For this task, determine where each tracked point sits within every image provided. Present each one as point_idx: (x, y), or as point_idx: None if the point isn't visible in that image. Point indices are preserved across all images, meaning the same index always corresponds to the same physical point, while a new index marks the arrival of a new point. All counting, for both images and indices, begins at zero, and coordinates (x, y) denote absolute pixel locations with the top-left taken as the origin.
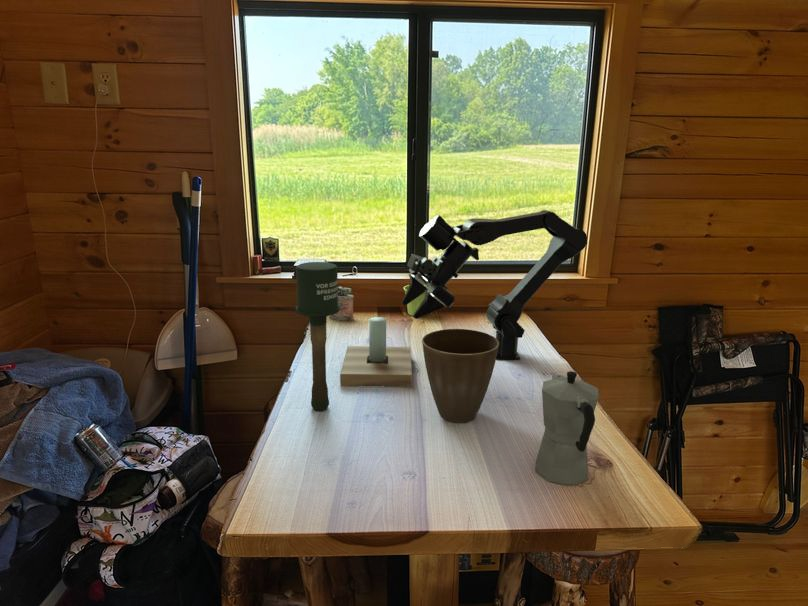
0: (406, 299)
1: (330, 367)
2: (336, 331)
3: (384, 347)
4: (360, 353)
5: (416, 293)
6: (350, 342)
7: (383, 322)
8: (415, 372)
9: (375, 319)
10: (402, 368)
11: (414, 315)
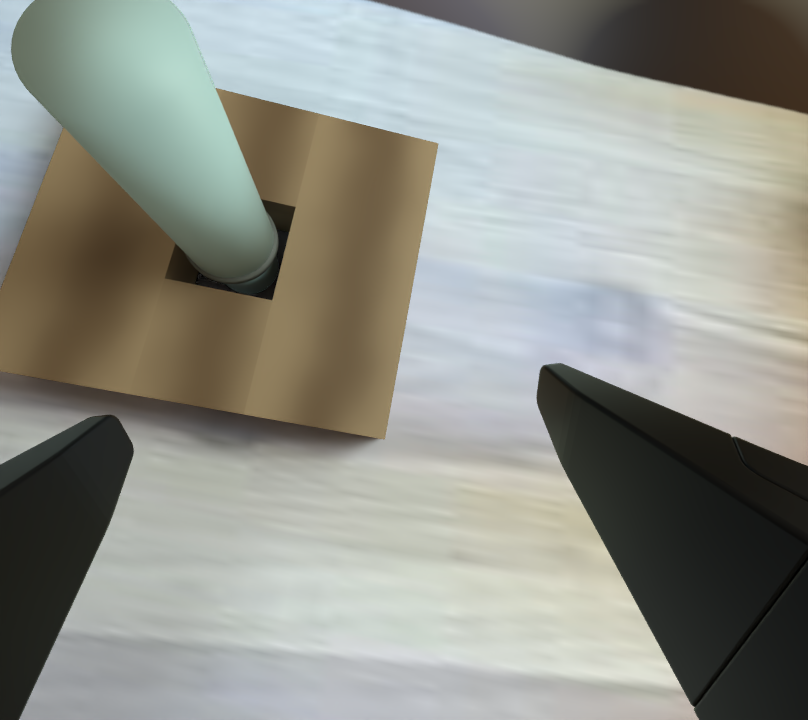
0: (570, 414)
1: (327, 101)
2: (725, 181)
3: (164, 231)
4: (330, 180)
5: (676, 602)
6: (595, 215)
7: (26, 86)
8: (199, 428)
9: (120, 30)
10: (77, 337)
11: (73, 427)
